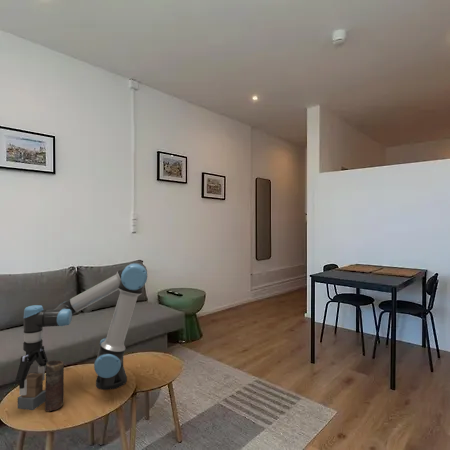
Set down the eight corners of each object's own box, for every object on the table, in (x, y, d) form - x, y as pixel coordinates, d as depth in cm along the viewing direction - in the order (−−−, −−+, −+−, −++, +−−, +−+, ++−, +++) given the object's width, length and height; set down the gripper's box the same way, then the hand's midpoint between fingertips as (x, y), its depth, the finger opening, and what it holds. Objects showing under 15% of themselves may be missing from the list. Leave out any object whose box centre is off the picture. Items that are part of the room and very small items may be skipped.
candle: (51, 402, 148) (51, 358, 148) (67, 402, 148) (67, 359, 148) (41, 412, 141) (41, 365, 141) (57, 412, 140) (58, 366, 141)
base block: (46, 401, 150) (46, 390, 150) (33, 410, 142) (33, 399, 142) (31, 399, 151) (31, 388, 151) (17, 408, 143) (17, 397, 144)
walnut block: (29, 390, 149) (30, 373, 150) (42, 390, 150) (42, 373, 150) (21, 397, 143) (21, 379, 144) (35, 397, 144) (35, 379, 144)
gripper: (40, 331, 159) (40, 374, 159) (6, 350, 135) (5, 401, 134) (55, 331, 159) (55, 374, 159) (23, 350, 134) (23, 402, 134)
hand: (32, 387), depth 147 cm, fingers open, 13 cm apart
